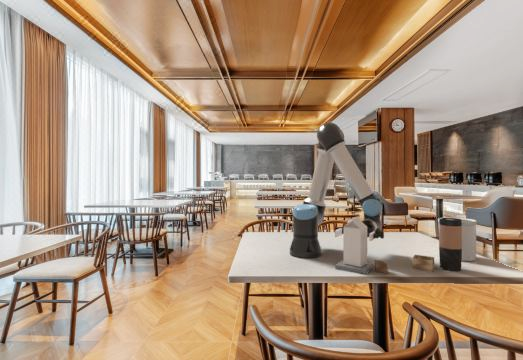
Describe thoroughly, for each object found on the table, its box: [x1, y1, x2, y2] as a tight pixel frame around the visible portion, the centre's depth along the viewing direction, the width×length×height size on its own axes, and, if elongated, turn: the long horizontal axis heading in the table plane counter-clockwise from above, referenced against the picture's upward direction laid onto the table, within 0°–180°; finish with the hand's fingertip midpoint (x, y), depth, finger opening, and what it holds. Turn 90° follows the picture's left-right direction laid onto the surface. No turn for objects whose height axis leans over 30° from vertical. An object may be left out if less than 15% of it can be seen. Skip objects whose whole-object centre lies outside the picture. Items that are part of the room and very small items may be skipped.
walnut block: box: [374, 259, 388, 275], centre depth 111 cm, size 4×4×4 cm
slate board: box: [334, 258, 375, 275], centre depth 117 cm, size 12×12×2 cm
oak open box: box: [411, 254, 435, 273], centre depth 116 cm, size 7×7×4 cm
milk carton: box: [343, 216, 368, 267], centre depth 117 cm, size 7×7×19 cm
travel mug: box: [438, 217, 463, 272], centre depth 115 cm, size 8×8×20 cm
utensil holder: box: [437, 217, 478, 262], centre depth 132 cm, size 15×15×18 cm
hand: (352, 235), depth 114 cm, fingers open, 13 cm apart
